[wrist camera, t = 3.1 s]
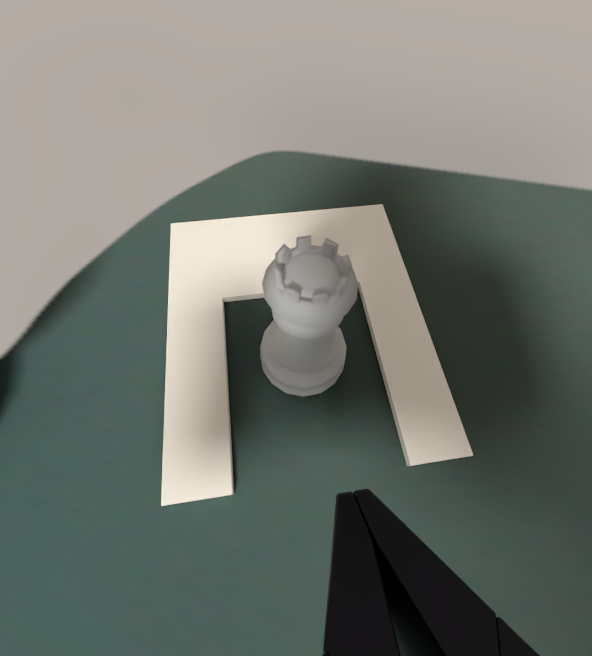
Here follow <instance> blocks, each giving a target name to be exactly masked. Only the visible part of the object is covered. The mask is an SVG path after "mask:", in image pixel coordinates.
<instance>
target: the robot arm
mask: <svg viewBox="0 0 592 656" xmlns="http://www.w3.org/2000/svg"><path fill="white" fill-rule="evenodd" d="M323 651H324V653H323V655H322V656H539V655H538V654H537V653H536V652H535V651H534V650H533V649H532V648H531V647H530V646H529V645H528V644H527V643H526V642H525V641H524V640H523V639H521V638H520V637H519V636H518V635H517V634H516V633H515V632H514V631H513V630H512V629H511V628H510V627H509V626H508V625H507V624H506V623H505V622H504V621H503V620H502V619H501V618H500V617H497V618H496V614H495V612H494V611H493V610H492V609H491V608H490V607H489V606H488V605H487V604H486V603H485V602H484V601H483V600H482V599H481V598H480V597H479V596H477V595H476V594H475V593H474V592H473V591H472V590H471V589H470V588H469V587H468V586H467V585H466V584H465V583H464V582H463V581H462V580H461V579H460V578H459V577H458V576H457V575H456V574H455V573H454V572H453V571H452V570H451V569H450V568H449V567H448V566H447V565H446V564H445V563H444V562H443V561H442V560H441V559H440V558H439V557H438V556H437V555H436V554H435V553H434V552H433V551H432V550H431V549H430V548H429V547H428V546H427V545H426V544H425V543H424V542H423V541H421V540H420V539H419V538H418V537H417V536H416V535H415V534H414V533H413V532H412V531H411V530H410V529H409V528H408V527H407V526H406V525H405V524H404V523H403V522H402V521H401V520H400V519H399V518H398V517H397V516H396V515H395V514H394V513H393V512H392V511H391V510H390V509H389V508H388V507H387V506H386V505H385V504H384V503H383V502H382V501H381V500H380V499H379V498H378V497H377V496H376V495H375V494H374V493H373V492H372V491H370V490H369V489H362V490H356V491H354V492H353V493H352V492H344V493H339V494H337V497H336V507H335V519H334V530H333V542H332V553H331V565H330V577H329V588H328V600H327V611H326V623H325V634H324V646H323Z"/></svg>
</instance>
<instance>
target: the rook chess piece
mask: <svg viewBox="0 0 592 656" xmlns="http://www.w3.org/2000/svg"><path fill="white" fill-rule="evenodd" d="M338 246H339V244H337V243H335V242H334V241H332V240H330V239H328V238H325V241H324V243H323V247H322V246H316V245H311V235H309V236H302V237H297V239H296V247H294V248H292V249H290V248H289V247H288V246H286V245H285V244H283V245H282V247H281V248H280V249H279V250H278V251H277V252H276V253H275V259H274V260H273V261H272V262H271V264H270V265H269V266H268V267H267V268H266V271H265V275H264V278H263V282H262V286H263V292H264V297H265V300H266V301H267V303H268V304H269V306H270V307H271V309H272V314H273V319H274V320H273V321H272V322H271V324H270V325H269V326H268V327H267V329H266V330H265V332H264V335H263V338H262V342H261V346H260V351H261V352H260V357H261V363H262V369H263V371H264V373H265V374H266V376H267V377H268V379H269V380H270V382H271V383H272V384H273V385H274V386H276V387H277V388H279V389H280V390H282V391H283V392H285V393H287V394H292V395H297V396H302V397H304V396H309V395H314V394H320V393H322V392H323V391H325V390H326V389H328V388H329V387H331V386H332V385H334V384H335V382H336V381H337V379H338V378H339V376H340V374H341V373H342V371H343V368H344V364H345V357H346V349H347V347H346V344H345V341H344V337H343V334H342V330H341V329H340V328H339V327H338V325H339V324H340V323H341V321H342V320H343V316H344V315H346V314H347V313H348V312H349V310H350V309H351V307H352V306H353V304H354V303H355V301H356V299H357V292H358V281H357V278H356V276H355V273H354V270H353V268H352V264H351V261H350V258H349V255H345V256H340V255H339V254H337V251H338Z"/></svg>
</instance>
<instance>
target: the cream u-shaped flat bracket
mask: <svg viewBox="0 0 592 656" xmlns="http://www.w3.org/2000/svg"><path fill="white" fill-rule="evenodd" d="M309 235H311V245H316V246H322V247H323V243H324V241H325V238H328V239H330V240H332V241H334V242H335V243H337V244H339V246H338V251H337V254H339V255H340V256H345V255H349V258H350V261H351V264H352V268H353V270H354V273H355V276H356V278H357V281H358V289H359V292H360V296H361V300H362V303H363V307H364V311H365V314H366V318H367V322H368V325H369V329H370V333H371V336H372V340H373V344H374V347H375V351H376V355H377V358H378V362H379V366H380V369H381V373H382V377H383V380H384V384H385V388H386V391H387V395H388V399H389V402H390V406H391V410H392V413H393V417H394V421H395V424H396V428H397V432H398V435H399V439H400V442H401V446H402V450H403V453H404V457H405V461H406V464H407V466H412V465H419V464H425V463H431V462H437V461H443V460H450V459H456V458H462V457H468V456H473V453H472V450H471V447H470V445H469V442H468V439H467V436H466V434H465V431H464V428H463V425H462V422H461V420H460V417H459V414H458V411H457V409H456V406H455V403H454V400H453V398H452V395H451V392H450V389H449V387H448V384H447V381H446V378H445V376H444V373H443V370H442V367H441V364H440V362H439V359H438V356H437V353H436V351H435V348H434V345H433V342H432V340H431V337H430V334H429V331H428V329H427V326H426V323H425V320H424V317H423V315H422V312H421V309H420V306H419V304H418V301H417V298H416V295H415V293H414V290H413V287H412V284H411V282H410V279H409V276H408V273H407V271H406V268H405V265H404V262H403V259H402V257H401V254H400V251H399V248H398V246H397V243H396V240H395V237H394V235H393V232H392V229H391V226H390V224H389V221H388V218H387V215H386V212H385V210H384V207H383V204H378V205H368V206H357V207H346V208H335V209H324V210H313V211H302V212H291V213H280V214H270V215H259V216H248V217H237V218H226V219H215V220H204V221H193V222H182V223H171V238H170V267H169V295H168V324H167V353H166V381H165V410H164V438H163V467H162V496H161V506H165V505H171V504H177V503H183V502H190V501H196V500H202V499H208V498H214V497H221V496H227V495H233V494H234V482H233V463H232V444H231V425H230V407H229V388H228V369H227V351H226V332H225V313H224V302H231V301H240V300H248V299H257V298H265V297H264V292H263V286H262V282H263V278H264V275H265V271H266V268H267V267H268V266H269V265H270V264H271V262H272V261H273V260H274V259H275V253H276V252H277V251H278V250H279V249H280V248H281V247H282V245H283V244H285V245H286V246H288V247H289V248H290V249H292V248H294V247H296V239H297V237H302V236H309Z"/></svg>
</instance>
